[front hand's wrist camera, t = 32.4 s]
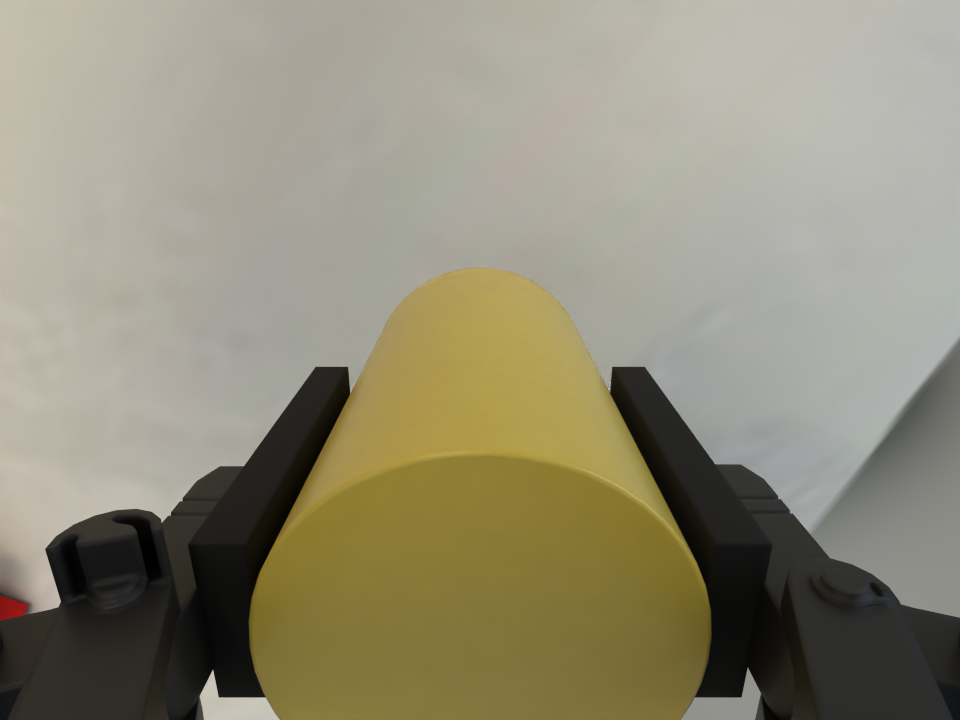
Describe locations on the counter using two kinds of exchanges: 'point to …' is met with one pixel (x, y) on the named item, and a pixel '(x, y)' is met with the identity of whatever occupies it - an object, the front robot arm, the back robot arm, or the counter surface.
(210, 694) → the counter surface
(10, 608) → the toy
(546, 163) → the counter surface
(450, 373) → the canister
